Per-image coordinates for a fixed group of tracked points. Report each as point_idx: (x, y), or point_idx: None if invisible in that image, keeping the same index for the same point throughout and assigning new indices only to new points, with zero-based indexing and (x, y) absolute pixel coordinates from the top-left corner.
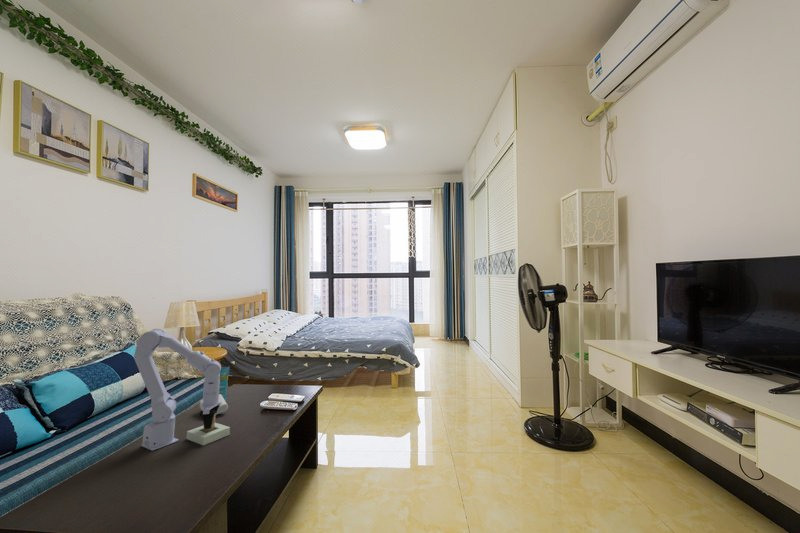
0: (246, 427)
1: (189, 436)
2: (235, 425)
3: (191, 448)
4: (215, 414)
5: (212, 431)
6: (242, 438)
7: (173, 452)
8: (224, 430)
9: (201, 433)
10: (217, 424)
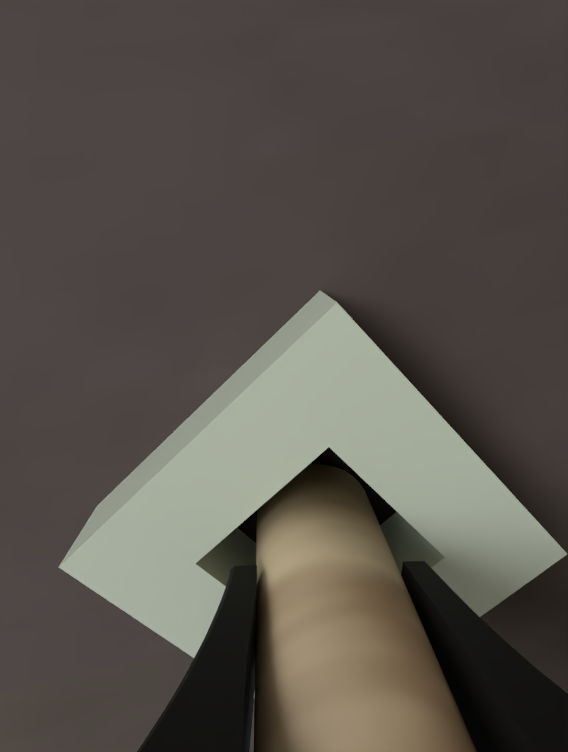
0: (103, 73)
1: None
2: (2, 260)
3: None
4: (371, 712)
5: (417, 506)
6: (501, 94)
7: (540, 667)
8: (393, 365)
9: None
10: (174, 498)
